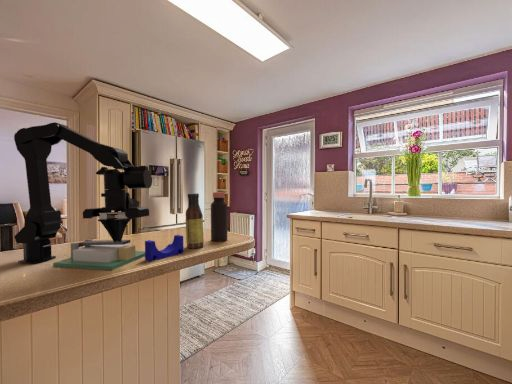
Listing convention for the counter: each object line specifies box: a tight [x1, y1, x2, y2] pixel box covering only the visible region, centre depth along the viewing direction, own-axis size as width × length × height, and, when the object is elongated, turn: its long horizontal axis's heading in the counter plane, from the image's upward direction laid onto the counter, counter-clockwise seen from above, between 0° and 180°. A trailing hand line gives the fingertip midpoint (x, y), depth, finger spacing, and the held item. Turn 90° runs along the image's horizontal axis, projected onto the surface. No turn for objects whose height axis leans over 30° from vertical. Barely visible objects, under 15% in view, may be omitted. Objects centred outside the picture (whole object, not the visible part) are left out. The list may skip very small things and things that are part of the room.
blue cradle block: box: [144, 234, 184, 262], centre depth 82 cm, size 12×4×6 cm, turn 144°
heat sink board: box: [52, 238, 145, 271], centre depth 77 cm, size 19×16×6 cm
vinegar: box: [210, 191, 228, 242], centre depth 106 cm, size 7×7×20 cm
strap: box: [78, 239, 131, 248], centre depth 78 cm, size 17×3×1 cm, turn 79°
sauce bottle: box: [185, 192, 205, 249], centre depth 94 cm, size 6×6×20 cm
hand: (117, 241), depth 77 cm, fingers closed, pressing on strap
